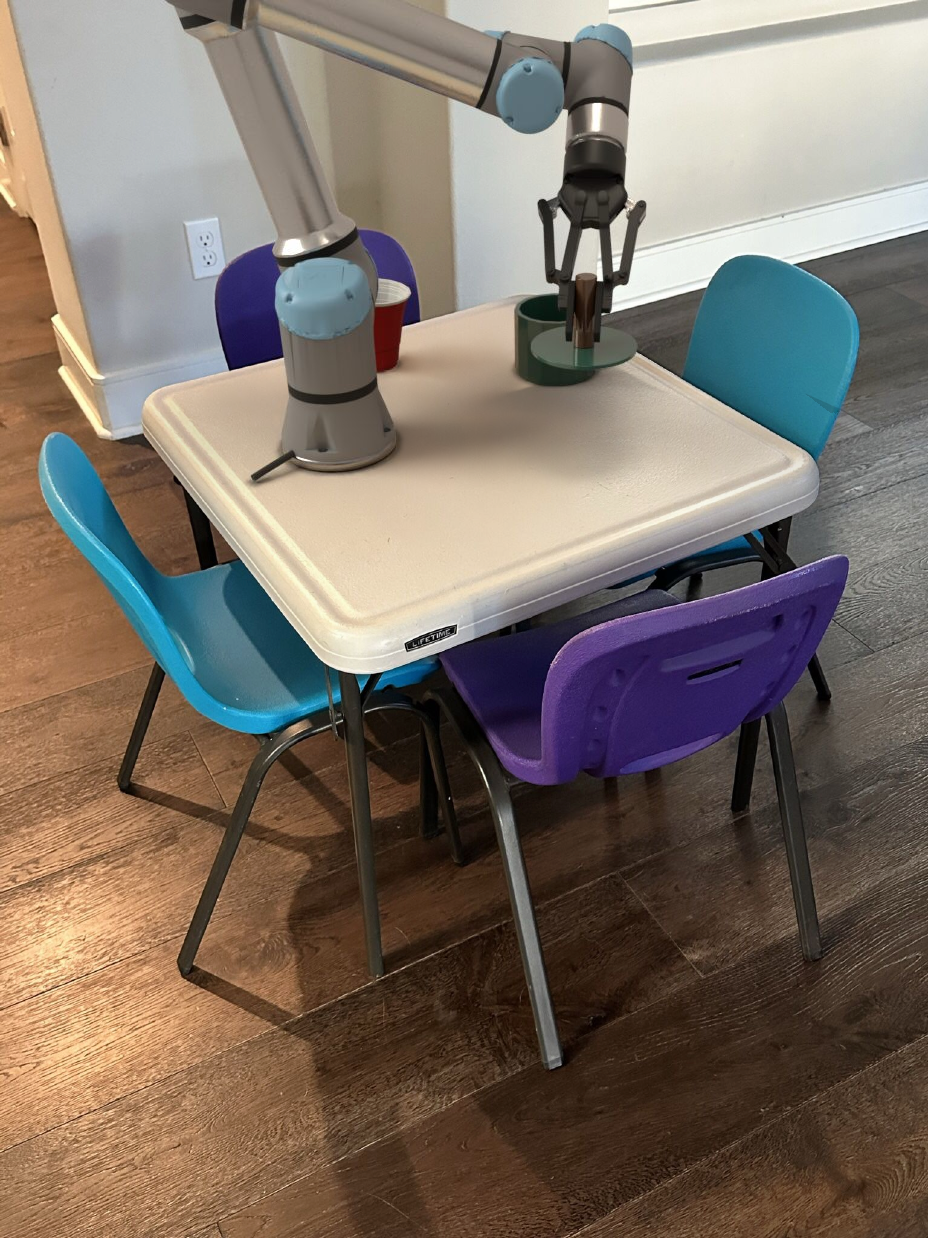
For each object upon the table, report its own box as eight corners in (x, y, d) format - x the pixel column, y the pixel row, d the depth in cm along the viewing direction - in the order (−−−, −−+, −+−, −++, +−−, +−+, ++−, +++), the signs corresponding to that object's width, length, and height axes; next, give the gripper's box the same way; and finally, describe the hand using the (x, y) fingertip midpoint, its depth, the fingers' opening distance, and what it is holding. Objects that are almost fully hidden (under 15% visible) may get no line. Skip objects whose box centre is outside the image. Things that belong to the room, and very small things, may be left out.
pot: (547, 392, 163) (548, 329, 157) (499, 366, 171) (498, 305, 165) (612, 371, 168) (614, 309, 162) (562, 346, 176) (563, 287, 170)
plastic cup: (413, 378, 168) (408, 300, 161) (341, 380, 169) (333, 302, 162) (417, 349, 177) (412, 274, 170) (349, 351, 178) (341, 276, 171)
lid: (574, 383, 131) (577, 303, 126) (509, 349, 140) (509, 273, 135) (659, 356, 137) (664, 279, 131) (591, 325, 146) (594, 250, 140)
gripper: (659, 171, 140) (648, 351, 136) (533, 170, 142) (519, 347, 138) (662, 136, 132) (650, 325, 129) (529, 135, 134) (514, 322, 131)
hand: (582, 336), depth 133 cm, fingers closed on lid, 3 cm apart
